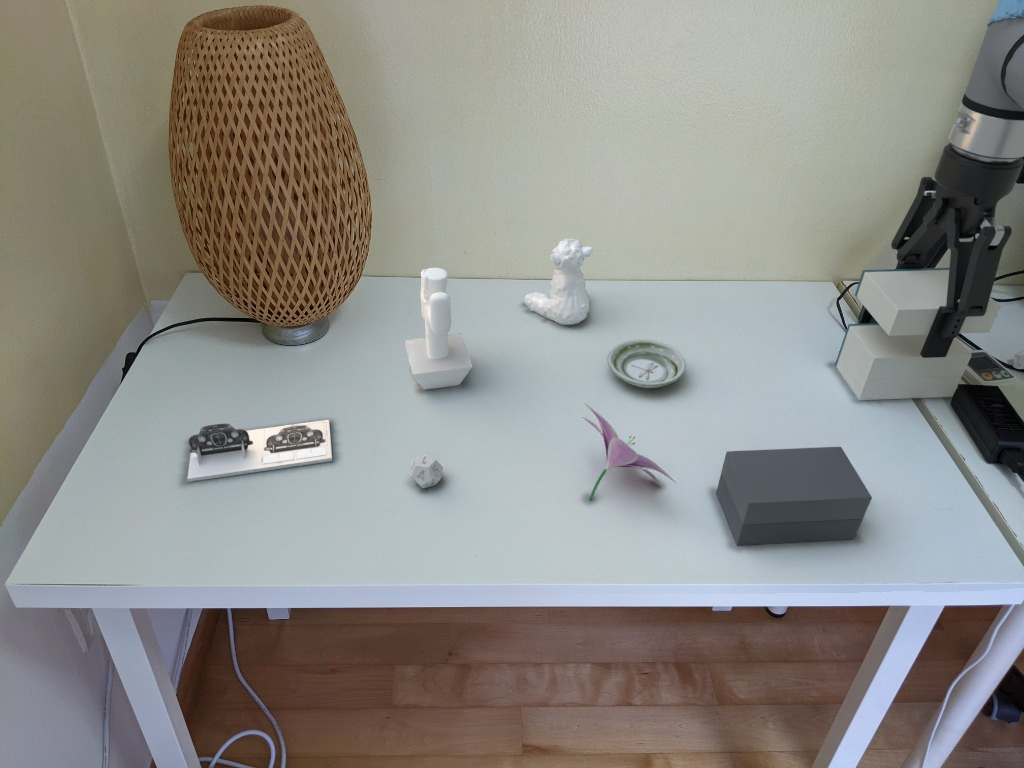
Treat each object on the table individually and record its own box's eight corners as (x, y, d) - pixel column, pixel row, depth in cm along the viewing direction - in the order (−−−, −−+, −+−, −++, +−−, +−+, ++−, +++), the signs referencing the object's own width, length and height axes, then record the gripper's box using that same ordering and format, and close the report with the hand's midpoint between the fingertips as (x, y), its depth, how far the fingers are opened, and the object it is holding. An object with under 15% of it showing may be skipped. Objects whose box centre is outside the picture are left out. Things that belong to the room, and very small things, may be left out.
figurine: (460, 352, 101) (457, 249, 92) (474, 395, 94) (473, 289, 85) (404, 359, 100) (396, 255, 91) (415, 404, 93) (407, 296, 83)
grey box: (825, 487, 83) (841, 446, 79) (854, 539, 77) (872, 497, 73) (715, 492, 82) (726, 451, 78) (736, 545, 76) (749, 503, 72)
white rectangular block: (923, 362, 101) (940, 321, 97) (952, 397, 95) (972, 354, 92) (834, 365, 100) (848, 323, 96) (858, 400, 95) (874, 358, 91)
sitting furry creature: (582, 292, 114) (588, 217, 106) (609, 323, 107) (617, 245, 100) (522, 304, 111) (524, 228, 104) (546, 336, 105) (550, 257, 97)
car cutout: (188, 482, 82) (177, 450, 79) (193, 440, 87) (183, 410, 84) (332, 461, 85) (327, 430, 82) (329, 422, 90) (324, 391, 87)
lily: (671, 539, 78) (709, 454, 76) (567, 515, 74) (604, 425, 72) (627, 486, 89) (659, 411, 87) (534, 463, 85) (566, 384, 83)
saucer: (616, 347, 103) (618, 331, 101) (689, 362, 100) (692, 347, 99) (597, 388, 96) (598, 373, 94) (675, 406, 93) (677, 391, 92)
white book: (948, 292, 95) (958, 267, 93) (989, 332, 88) (1001, 306, 86) (854, 295, 95) (862, 269, 92) (888, 336, 88) (898, 309, 85)
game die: (446, 471, 84) (445, 451, 82) (437, 495, 81) (436, 475, 79) (415, 466, 84) (413, 446, 82) (405, 490, 81) (403, 470, 79)
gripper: (900, 114, 88) (844, 286, 101) (1012, 194, 71) (927, 388, 84) (963, 113, 88) (899, 285, 102) (1090, 193, 71) (993, 386, 85)
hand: (912, 332), depth 93 cm, fingers closed on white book, 9 cm apart
